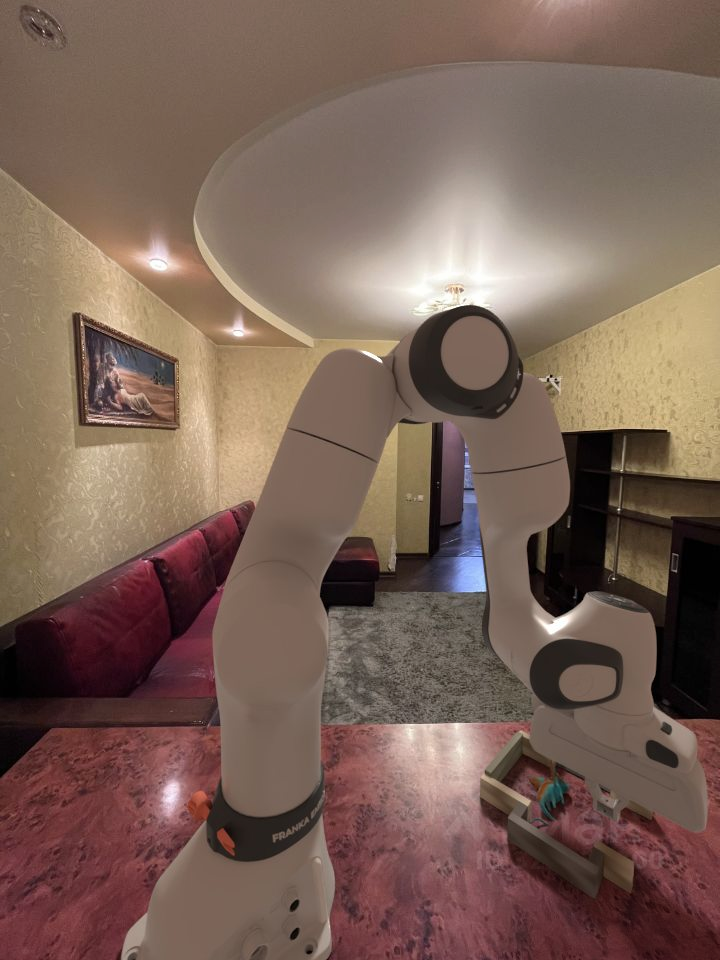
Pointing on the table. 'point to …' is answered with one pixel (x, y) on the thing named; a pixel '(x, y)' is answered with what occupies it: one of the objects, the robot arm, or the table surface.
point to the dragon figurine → (550, 791)
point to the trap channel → (541, 844)
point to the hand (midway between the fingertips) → (606, 813)
